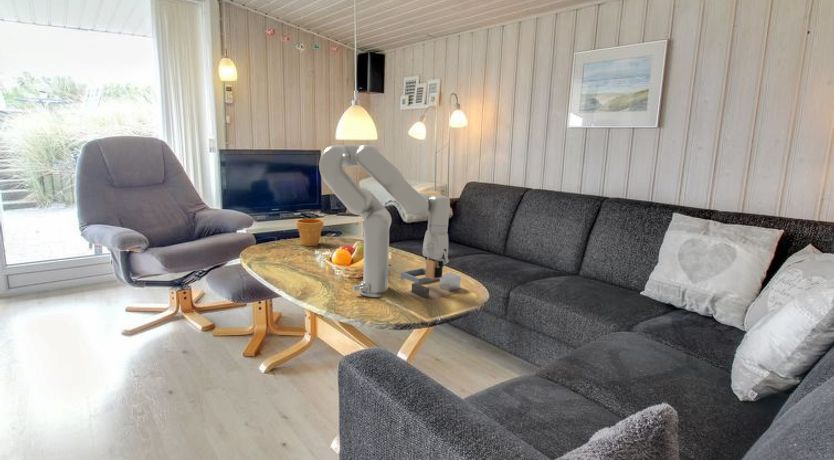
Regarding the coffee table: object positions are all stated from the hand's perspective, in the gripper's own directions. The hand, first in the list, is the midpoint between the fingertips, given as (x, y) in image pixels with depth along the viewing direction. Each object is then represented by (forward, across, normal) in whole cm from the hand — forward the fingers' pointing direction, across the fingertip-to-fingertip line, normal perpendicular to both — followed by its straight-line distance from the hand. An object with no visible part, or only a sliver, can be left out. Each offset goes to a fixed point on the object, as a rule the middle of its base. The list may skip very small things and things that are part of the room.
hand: (433, 275), depth 185 cm
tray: (+8, -16, +7) cm, 20 cm away
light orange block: (+1, 0, 0) cm, 1 cm away
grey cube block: (+6, +1, +8) cm, 10 cm away
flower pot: (+10, -100, -2) cm, 101 cm away
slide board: (+8, +1, +1) cm, 8 cm away
